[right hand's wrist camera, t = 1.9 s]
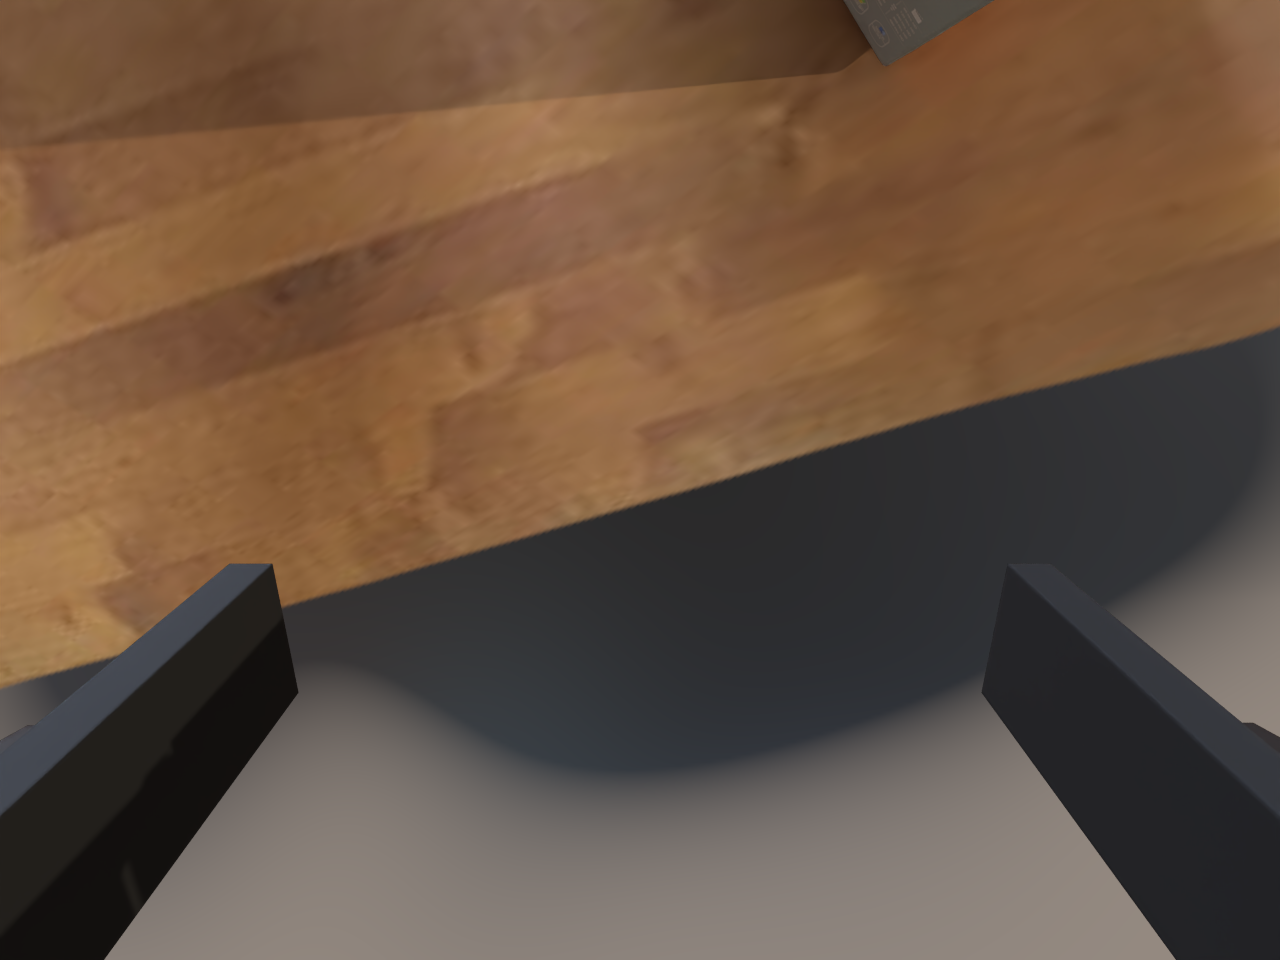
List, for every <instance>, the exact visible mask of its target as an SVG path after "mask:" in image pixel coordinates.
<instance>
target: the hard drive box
mask: <svg viewBox="0 0 1280 960" xmlns="http://www.w3.org/2000/svg"><path fill="white" fill-rule="evenodd" d="M843 1H844V2H845V4H846V5H847V7H848V9H849V10H850V12H851V14H852V15H853V17H854V19H855V21H856V22H857V24H858V26H859V27H860V29H861V31H862V32H863V34H864V36H865V37H866V39H867V40H868V42H869V44H870V45H871V47H872V49H873V50H874V52H875V54H876V55H877V57H878V59H879V60H880V62H881V63H882V65H884V66H887V65H889V64H891V63H893V62H895V61H896V60H898V59H900V58H901V57H903V56H905V55H907V54H908V53H910V52H912V51H913V50H915V49H917V48H918V47H920V46H921V45H923V44H925V43H926V42H928V41H930V40H931V39H933V38H935V37H936V36H938V35H940V34H941V33H943V32H944V31H946V30H947V29H949V28H951V27H952V26H954V25H955V24H957V23H958V22H960V21H962V20H963V19H965V18H966V17H968V16H969V15H971V14H973V13H974V12H976V11H977V10H979V9H981V8H982V7H984V6H986V5H987V4H989V3H990V2H992V1H994V0H843Z"/></svg>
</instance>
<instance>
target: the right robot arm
mask: <svg viewBox="0 0 1280 960" xmlns="http://www.w3.org/2000/svg"><path fill="white" fill-rule="evenodd" d="M297 694H298V688H297V683H296V678H295V673H294V668H293V663H292V658H291V653H290V648H289V644H288V639H287V634H286V629H285V624H284V619H283V614H282V609H281V604H280V599H279V594H278V589H277V584H276V579H275V574H274V569H273V564H229V565H227V566H226V567H225V568H224V569H223V570H221V571H220V572H219V573H218V574H217V575H215V576H214V577H213V578H212V579H211V580H209V581H208V582H207V583H206V584H205V585H203V586H202V587H201V588H200V589H199V590H197V591H196V592H195V593H194V594H193V595H191V596H190V597H189V598H188V599H186V600H185V601H184V602H183V603H182V604H180V605H179V606H178V607H177V608H176V609H174V610H173V611H172V612H171V613H170V614H168V615H167V616H166V617H165V618H164V619H162V620H161V621H160V622H159V623H158V624H156V625H155V626H154V627H153V628H152V629H150V630H149V631H148V632H147V633H146V634H144V635H143V636H142V637H141V638H139V639H138V640H137V641H136V642H135V643H133V644H132V645H131V646H130V647H129V648H127V649H126V650H125V651H124V652H123V653H121V654H120V655H119V656H118V657H117V658H115V659H114V660H113V661H112V662H111V663H109V664H108V665H107V666H106V667H105V668H103V669H102V670H101V671H100V672H99V673H97V674H96V675H95V676H94V677H92V678H91V679H90V680H89V681H88V682H87V683H85V684H84V685H83V686H82V687H80V688H79V689H78V690H77V691H76V692H74V693H73V694H72V695H71V696H70V697H68V698H67V699H66V700H65V701H64V702H62V703H61V704H60V705H59V706H58V707H56V708H55V709H54V710H53V711H52V712H50V713H49V714H48V715H47V716H46V717H44V718H43V719H42V720H41V721H40V722H38V723H37V724H36V725H27V726H25V727H24V728H22V729H20V730H18V731H16V732H15V733H13V734H11V735H9V736H7V737H5V738H4V739H2V740H0V960H104V959H105V958H106V956H107V955H108V954H109V952H110V951H111V949H112V948H113V947H114V945H115V944H116V943H117V941H118V940H119V938H120V937H121V936H122V934H123V933H124V932H125V930H126V929H127V927H128V926H129V925H130V923H131V922H132V921H133V919H134V918H135V916H136V915H137V914H138V912H139V911H140V909H141V908H142V907H143V905H144V904H145V903H146V901H147V900H148V899H149V897H150V896H151V894H152V893H153V892H154V890H155V889H156V888H157V886H158V885H159V883H160V882H161V881H162V879H163V878H164V877H165V875H166V874H167V872H168V871H169V870H170V868H171V867H172V866H173V864H174V863H175V862H176V860H177V859H178V857H179V856H180V855H181V853H182V852H183V850H184V849H185V848H186V846H187V845H188V844H189V842H190V841H191V839H192V838H193V837H194V835H195V834H196V833H197V831H198V830H199V829H200V827H201V826H202V824H203V823H204V822H205V820H206V819H207V818H208V816H209V815H210V813H211V812H212V811H213V809H214V808H215V807H216V805H217V804H218V802H219V801H220V800H221V798H222V797H223V796H224V794H225V793H226V791H227V790H228V789H229V787H230V786H231V785H232V783H233V782H234V780H235V779H236V778H237V776H238V775H239V774H240V772H241V771H242V769H243V768H244V767H245V765H246V764H247V763H248V761H249V760H250V758H251V757H252V756H253V754H254V753H255V752H256V750H257V749H258V747H259V746H260V745H261V743H262V742H263V741H264V739H265V738H266V736H267V735H268V734H269V732H270V731H271V730H272V728H273V727H274V725H275V724H276V723H277V721H278V720H279V719H280V717H281V716H282V714H283V713H284V712H285V710H286V709H287V708H288V706H289V705H290V703H291V702H292V701H293V699H294V698H295V697H296V695H297ZM982 694H983V695H984V697H985V698H986V699H987V701H988V702H989V703H990V705H991V706H992V708H993V709H994V710H995V712H996V713H997V714H998V716H999V717H1000V719H1001V720H1002V721H1003V723H1004V724H1005V725H1006V727H1007V728H1008V730H1009V731H1010V732H1011V734H1012V735H1013V736H1014V738H1015V739H1016V741H1017V742H1018V743H1019V745H1020V746H1021V747H1022V749H1023V750H1024V752H1025V753H1026V754H1027V756H1028V757H1029V758H1030V760H1031V761H1032V763H1033V764H1034V765H1035V767H1036V768H1037V769H1038V771H1039V772H1040V774H1041V775H1042V776H1043V778H1044V779H1045V780H1046V782H1047V783H1048V785H1049V786H1050V787H1051V789H1052V790H1053V791H1054V793H1055V794H1056V796H1057V797H1058V798H1059V800H1060V801H1061V802H1062V804H1063V805H1064V807H1065V808H1066V809H1067V811H1068V812H1069V813H1070V815H1071V816H1072V818H1073V819H1074V820H1075V822H1076V823H1077V824H1078V826H1079V827H1080V829H1081V830H1082V831H1083V833H1084V834H1085V835H1086V837H1087V838H1088V840H1089V841H1090V842H1091V844H1092V845H1093V846H1094V848H1095V849H1096V850H1097V852H1098V853H1099V855H1100V856H1101V857H1102V859H1103V860H1104V862H1105V863H1106V864H1107V866H1108V867H1109V868H1110V870H1111V871H1112V872H1113V874H1114V875H1115V877H1116V878H1117V879H1118V881H1119V882H1120V883H1121V885H1122V886H1123V888H1124V889H1125V890H1126V892H1127V893H1128V894H1129V896H1130V897H1131V899H1132V900H1133V901H1134V903H1135V904H1136V905H1137V907H1138V908H1139V909H1140V911H1141V912H1142V914H1143V915H1144V916H1145V918H1146V919H1147V921H1148V922H1149V923H1150V925H1151V926H1152V927H1153V929H1154V930H1155V932H1156V933H1157V934H1158V936H1159V937H1160V938H1161V940H1162V941H1163V943H1164V944H1165V945H1166V947H1167V948H1168V949H1169V951H1170V952H1171V954H1172V955H1173V956H1174V958H1175V959H1176V960H1280V737H1278V736H1276V735H1275V734H1273V733H1271V732H1269V731H1267V730H1265V729H1264V728H1262V727H1260V726H1258V725H1256V724H1254V723H1242V722H1241V721H1239V720H1238V719H1237V718H1236V717H1235V716H1233V715H1232V714H1231V713H1230V712H1228V711H1227V710H1226V709H1225V708H1224V707H1222V706H1221V705H1220V704H1219V703H1218V702H1216V701H1215V700H1214V699H1213V698H1212V697H1210V696H1209V695H1208V694H1207V693H1206V692H1204V691H1203V690H1202V689H1201V688H1200V687H1198V686H1197V685H1196V684H1195V683H1194V682H1192V681H1191V680H1190V679H1189V678H1187V677H1186V676H1185V675H1184V674H1183V673H1181V672H1180V671H1179V670H1178V669H1177V668H1175V667H1174V666H1173V665H1172V664H1171V663H1169V662H1168V661H1167V660H1166V659H1165V658H1163V657H1162V656H1161V655H1160V654H1159V653H1157V652H1156V651H1155V650H1154V649H1153V648H1151V647H1150V646H1149V645H1148V644H1147V643H1145V642H1144V641H1143V640H1142V639H1141V638H1139V637H1138V636H1137V635H1136V634H1134V633H1133V632H1132V631H1131V630H1130V629H1128V628H1127V627H1126V626H1125V625H1124V624H1122V623H1121V622H1120V621H1119V620H1118V619H1116V618H1115V617H1114V616H1113V615H1112V614H1110V613H1109V612H1108V611H1107V610H1106V609H1104V608H1103V607H1102V606H1101V605H1099V604H1098V603H1097V602H1096V601H1095V600H1093V599H1092V598H1091V597H1090V596H1089V595H1087V594H1086V593H1085V592H1084V591H1083V590H1081V589H1080V588H1079V587H1078V586H1077V585H1075V584H1074V583H1073V582H1072V581H1071V580H1069V579H1068V578H1067V577H1066V576H1065V575H1063V574H1062V573H1061V572H1060V571H1059V570H1057V569H1056V568H1055V567H1054V566H1052V565H1051V564H1008V565H1007V569H1006V574H1005V579H1004V584H1003V589H1002V594H1001V599H1000V604H999V609H998V614H997V619H996V624H995V629H994V634H993V639H992V643H991V648H990V653H989V658H988V663H987V668H986V673H985V678H984V683H983V688H982Z"/></svg>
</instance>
